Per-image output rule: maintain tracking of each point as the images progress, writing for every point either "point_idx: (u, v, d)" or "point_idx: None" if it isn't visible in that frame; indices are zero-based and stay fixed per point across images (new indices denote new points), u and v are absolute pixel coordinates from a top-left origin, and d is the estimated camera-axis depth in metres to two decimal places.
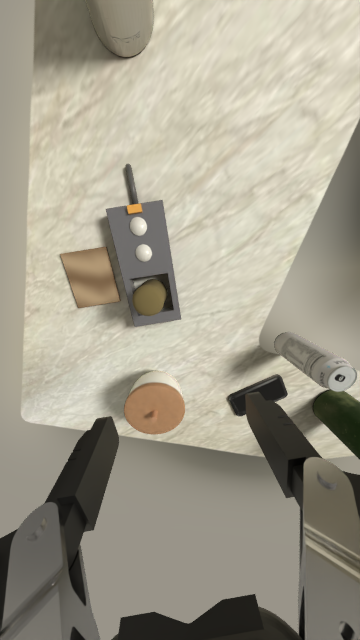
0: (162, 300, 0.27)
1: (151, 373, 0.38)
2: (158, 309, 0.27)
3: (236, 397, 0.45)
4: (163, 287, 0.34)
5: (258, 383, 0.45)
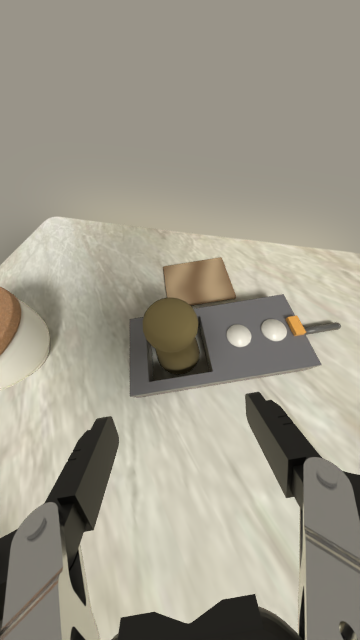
0: (170, 345, 0.14)
1: (42, 338, 0.22)
2: (153, 336, 0.14)
3: None
4: (188, 364, 0.21)
5: None
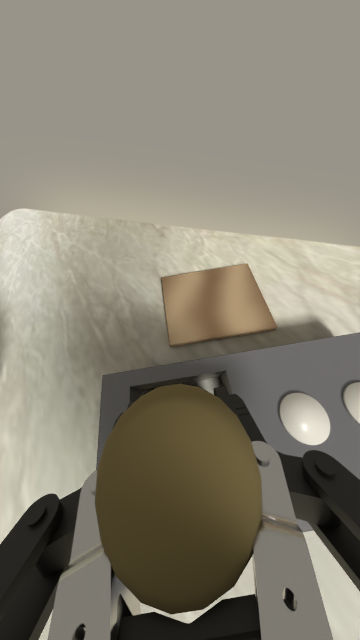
0: None
1: None
2: (120, 575, 0.04)
3: None
4: None
5: None
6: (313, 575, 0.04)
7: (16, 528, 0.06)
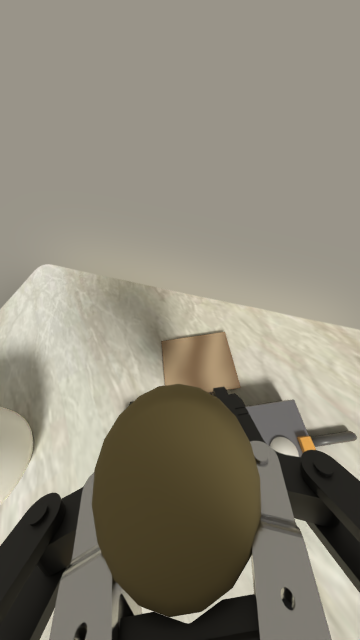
0: None
1: (22, 456, 0.19)
2: (117, 577, 0.04)
3: None
4: None
5: None
6: (312, 574, 0.04)
7: (18, 527, 0.06)
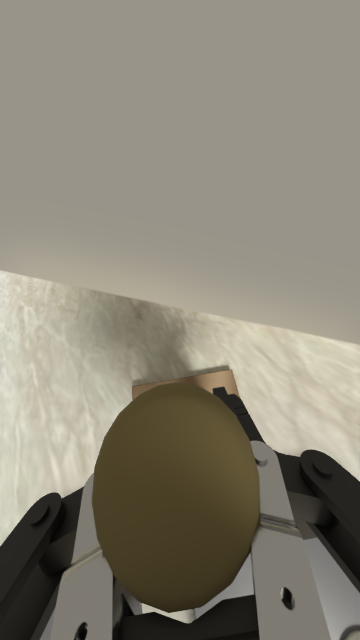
0: None
1: None
2: (117, 574, 0.04)
3: None
4: None
5: None
6: (311, 574, 0.04)
7: (19, 527, 0.06)
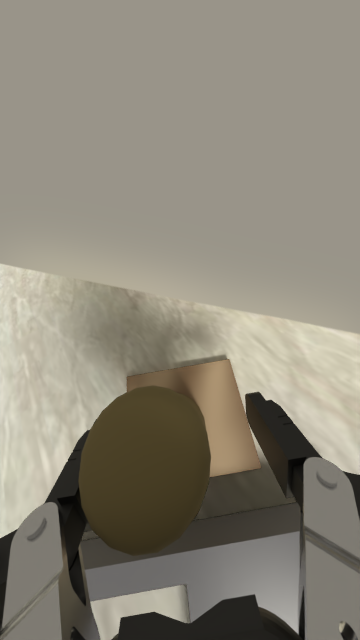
0: (139, 553, 0.05)
1: None
2: (94, 527, 0.05)
3: None
4: None
5: None
6: None
7: None
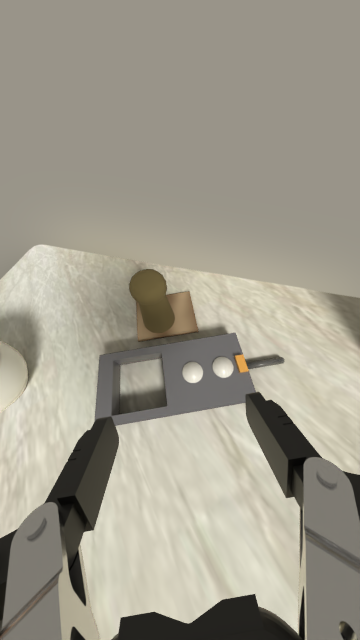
0: (146, 297, 0.22)
1: (19, 375, 0.25)
2: (135, 291, 0.22)
3: None
4: (164, 323, 0.29)
5: None
6: None
7: None
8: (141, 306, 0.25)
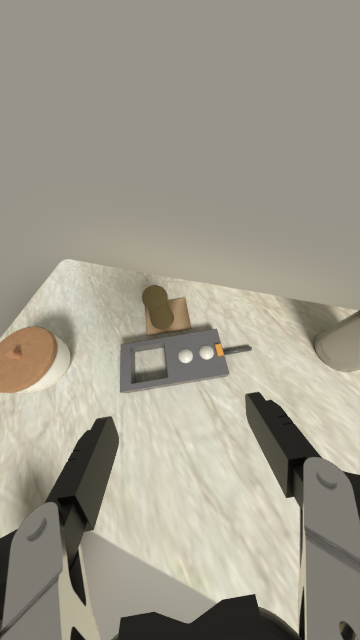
0: (153, 304, 0.33)
1: (67, 357, 0.36)
2: (146, 301, 0.33)
3: None
4: (166, 321, 0.40)
5: None
6: None
7: None
8: (150, 310, 0.36)
